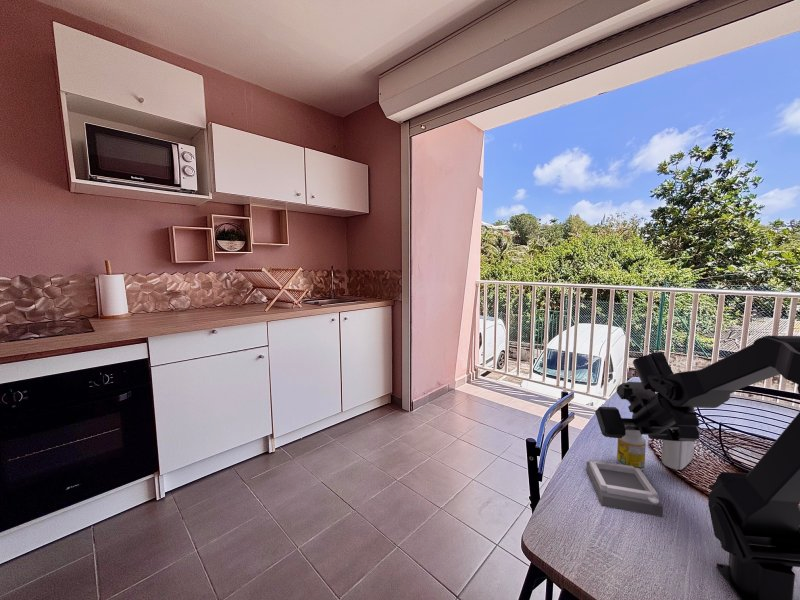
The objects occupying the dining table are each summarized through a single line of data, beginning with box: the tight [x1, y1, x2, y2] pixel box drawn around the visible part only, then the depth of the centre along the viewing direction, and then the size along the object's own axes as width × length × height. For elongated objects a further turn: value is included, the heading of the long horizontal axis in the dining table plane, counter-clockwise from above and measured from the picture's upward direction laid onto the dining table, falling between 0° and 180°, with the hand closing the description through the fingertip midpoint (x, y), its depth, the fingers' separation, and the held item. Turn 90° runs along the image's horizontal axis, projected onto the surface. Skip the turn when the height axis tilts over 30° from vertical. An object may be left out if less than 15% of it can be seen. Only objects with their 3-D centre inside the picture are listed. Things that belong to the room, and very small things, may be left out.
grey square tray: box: [586, 460, 664, 517], centre depth 66 cm, size 12×10×3 cm
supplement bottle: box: [616, 425, 647, 472], centre depth 75 cm, size 5×5×10 cm
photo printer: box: [661, 440, 695, 471], centre depth 76 cm, size 10×4×12 cm, turn 123°
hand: (628, 435), depth 76 cm, fingers open, 9 cm apart
